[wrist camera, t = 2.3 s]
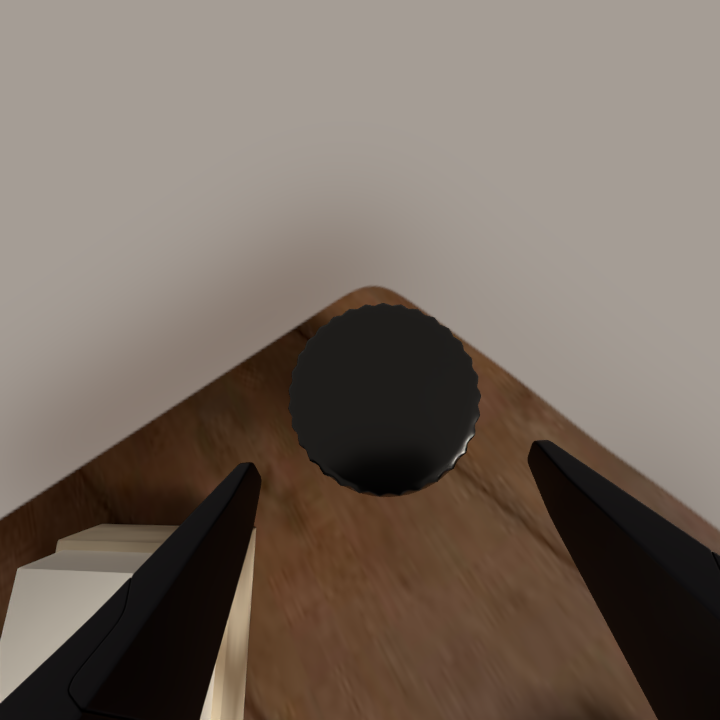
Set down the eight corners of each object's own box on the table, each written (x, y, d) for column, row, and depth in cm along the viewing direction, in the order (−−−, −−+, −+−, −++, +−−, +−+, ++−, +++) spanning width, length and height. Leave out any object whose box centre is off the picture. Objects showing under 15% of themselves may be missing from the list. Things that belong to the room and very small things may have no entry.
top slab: (203, 797, 12) (170, 868, 10) (16, 774, 13) (-47, 835, 11) (225, 555, 15) (200, 576, 13) (63, 549, 16) (17, 568, 14)
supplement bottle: (318, 388, 19) (208, 338, 7) (401, 342, 19) (427, 218, 7) (364, 481, 17) (320, 610, 6) (455, 429, 17) (598, 448, 6)
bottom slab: (241, 748, 15) (212, 813, 12) (63, 730, 16) (5, 787, 13) (256, 527, 17) (234, 545, 15) (101, 524, 18) (58, 539, 16)
